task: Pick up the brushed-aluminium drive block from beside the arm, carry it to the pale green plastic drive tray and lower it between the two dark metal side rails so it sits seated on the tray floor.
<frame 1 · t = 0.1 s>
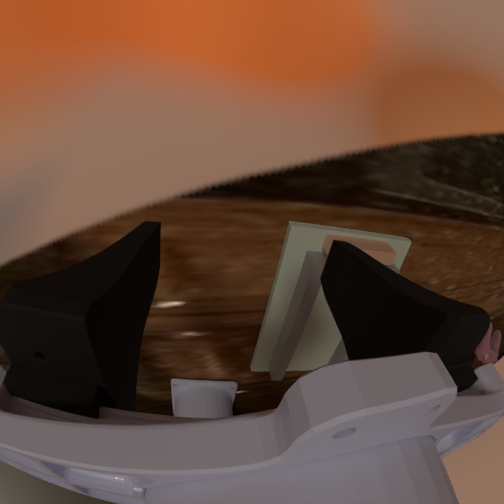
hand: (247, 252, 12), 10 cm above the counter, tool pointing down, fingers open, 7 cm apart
video game controller: (481, 333, 39), on the counter
drive tray: (324, 310, 28), on the counter
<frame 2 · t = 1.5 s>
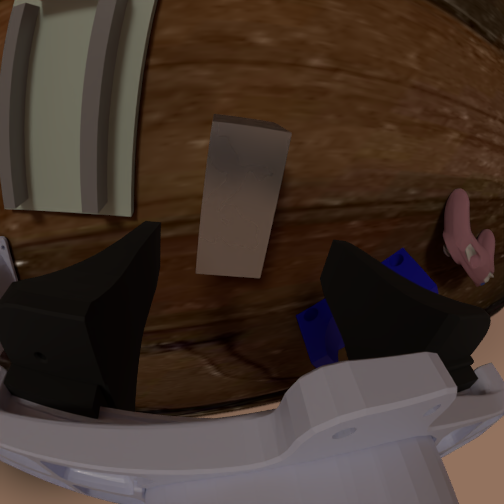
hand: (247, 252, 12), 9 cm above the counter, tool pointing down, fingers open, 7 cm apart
cable clip: (357, 293, 27), on the counter
video game controller: (457, 228, 25), on the counter
drive tray: (63, 90, 15), on the counter
drive: (233, 180, 20), on the counter
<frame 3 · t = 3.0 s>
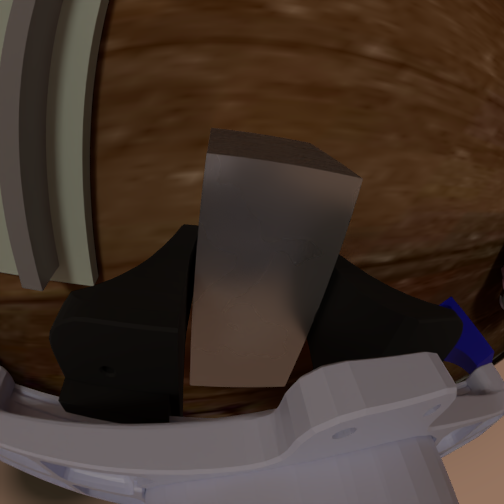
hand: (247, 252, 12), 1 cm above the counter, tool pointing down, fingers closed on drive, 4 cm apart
cable clip: (390, 350, 20), on the counter
drive: (243, 233, 13), on the counter, touching gripper
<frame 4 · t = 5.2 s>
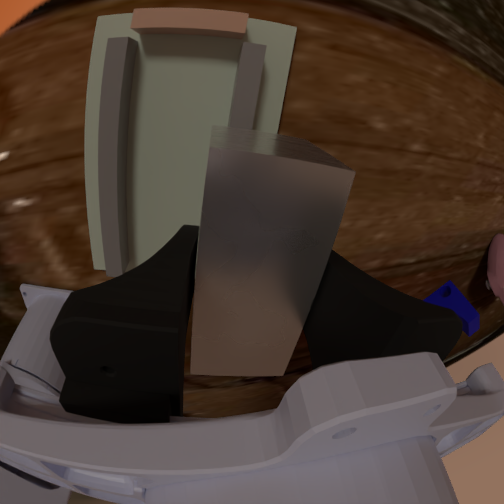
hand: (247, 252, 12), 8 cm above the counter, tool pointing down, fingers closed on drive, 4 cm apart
cable clip: (410, 319, 29), on the counter
video game controller: (493, 263, 27), on the counter
drive tray: (175, 151, 17), on the counter
drive: (243, 226, 14), point 6 cm above the counter, touching gripper
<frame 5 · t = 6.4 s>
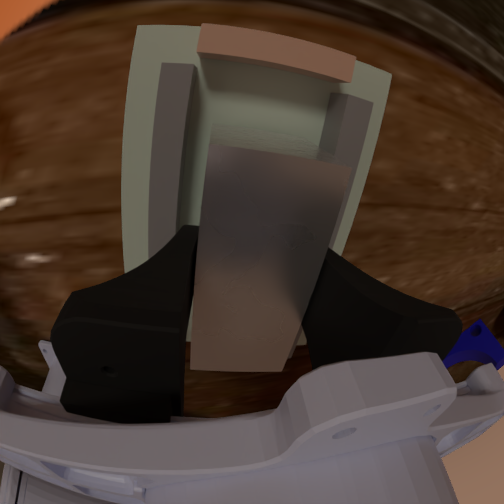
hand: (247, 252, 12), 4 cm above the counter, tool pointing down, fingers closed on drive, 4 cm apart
cable clip: (440, 355, 27), on the counter
drive tray: (239, 213, 15), on the counter
drive: (242, 224, 14), point 1 cm above the counter, touching gripper
when the fingers open (4 cm above the counter, at t = 7.2 s): drive stays where it is, resting on drive tray.
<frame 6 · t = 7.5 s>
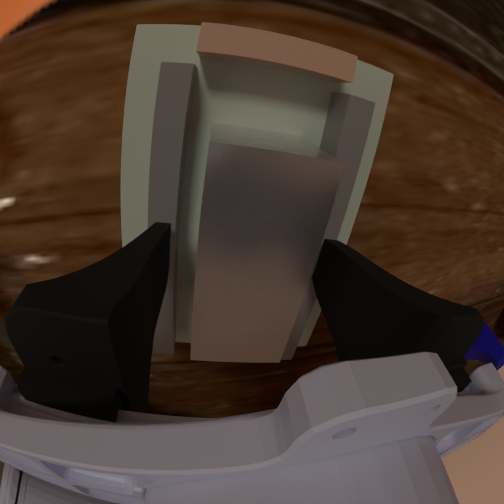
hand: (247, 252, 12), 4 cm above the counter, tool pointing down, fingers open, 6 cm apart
cable clip: (440, 354, 27), on the counter
drive tray: (240, 214, 15), on the counter
drive: (241, 219, 14), point 1 cm above the counter, touching drive tray
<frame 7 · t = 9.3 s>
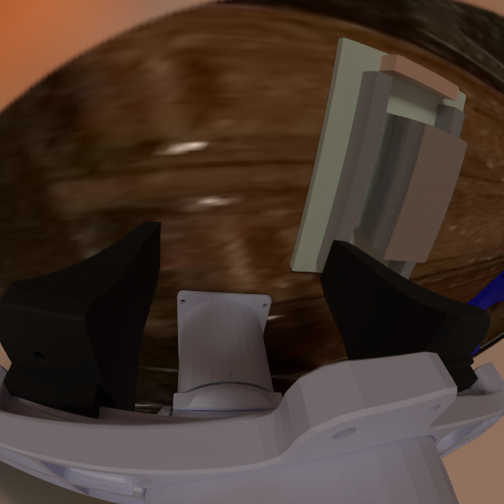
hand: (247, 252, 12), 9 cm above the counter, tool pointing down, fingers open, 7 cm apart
cable clip: (479, 298, 32), on the counter
drive tray: (385, 172, 21), on the counter
drive: (390, 174, 20), point 1 cm above the counter, touching drive tray
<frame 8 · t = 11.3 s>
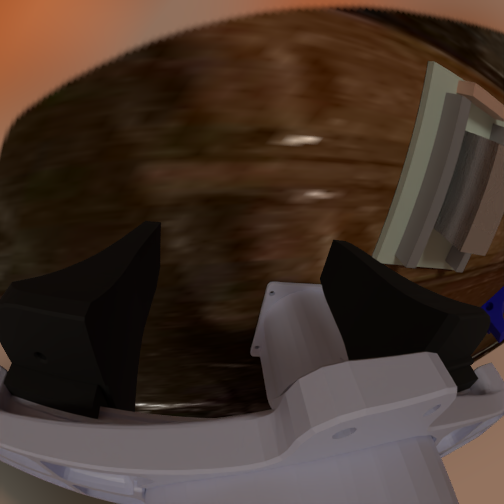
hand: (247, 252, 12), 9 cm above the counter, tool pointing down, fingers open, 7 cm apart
cable clip: (503, 291, 33), on the counter
drive tray: (451, 178, 21), on the counter
drive: (456, 181, 21), point 1 cm above the counter, touching drive tray
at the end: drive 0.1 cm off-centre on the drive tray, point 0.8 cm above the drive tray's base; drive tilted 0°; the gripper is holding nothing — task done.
